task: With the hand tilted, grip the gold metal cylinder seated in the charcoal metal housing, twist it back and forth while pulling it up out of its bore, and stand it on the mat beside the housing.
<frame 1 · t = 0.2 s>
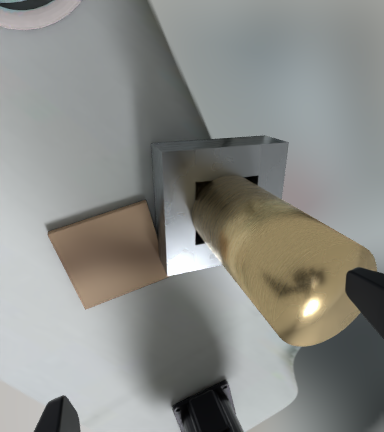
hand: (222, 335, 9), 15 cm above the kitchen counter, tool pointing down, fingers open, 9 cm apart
housing: (210, 196, 24), on the kitchen counter
gold metal cylinder: (251, 232, 18), in the housing
mat: (114, 254, 23), on the kitchen counter
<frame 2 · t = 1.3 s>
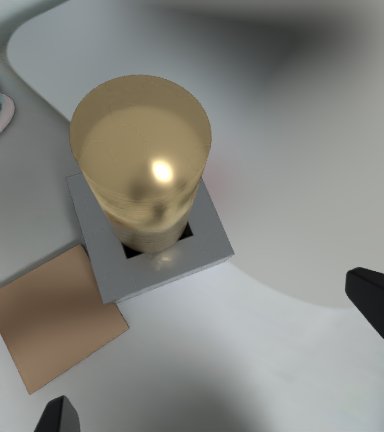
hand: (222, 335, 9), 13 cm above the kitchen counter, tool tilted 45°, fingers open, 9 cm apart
housing: (150, 227, 23), on the kitchen counter
gold metal cylinder: (147, 195, 17), in the housing
mat: (59, 313, 21), on the kitchen counter
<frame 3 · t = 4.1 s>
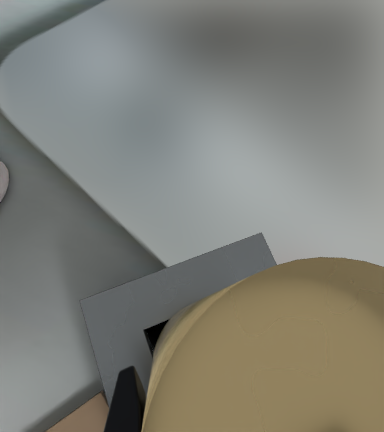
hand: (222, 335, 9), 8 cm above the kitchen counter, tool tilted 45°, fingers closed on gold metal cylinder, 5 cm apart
housing: (204, 355, 16), on the kitchen counter
gold metal cylinder: (233, 378, 9), in the housing, touching gripper
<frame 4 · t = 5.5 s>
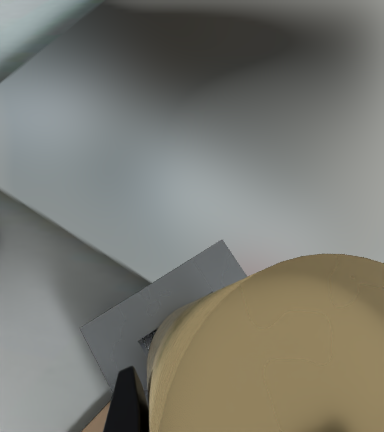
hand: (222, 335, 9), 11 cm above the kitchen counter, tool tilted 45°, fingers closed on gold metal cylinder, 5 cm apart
housing: (193, 349, 18), on the kitchen counter
gold metal cylinder: (229, 377, 10), point 9 cm above the kitchen counter, touching gripper
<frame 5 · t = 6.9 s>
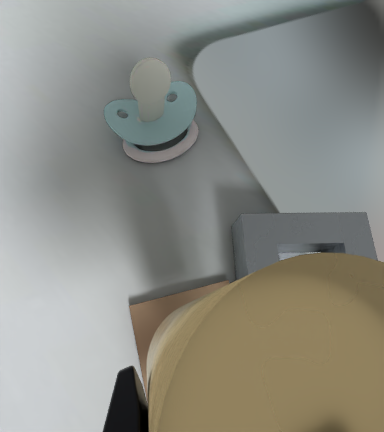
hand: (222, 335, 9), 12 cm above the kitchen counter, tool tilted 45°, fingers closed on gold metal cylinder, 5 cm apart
housing: (296, 284, 22), on the kitchen counter
gold metal cylinder: (229, 376, 10), point 11 cm above the kitchen counter, touching gripper
pacifier: (156, 133, 25), on the kitchen counter
mat: (192, 345, 20), on the kitchen counter
when the fingers open (8 cm above the kitchen counter, at t = 8.1 s): gold metal cylinder stays where it is, resting on mat.
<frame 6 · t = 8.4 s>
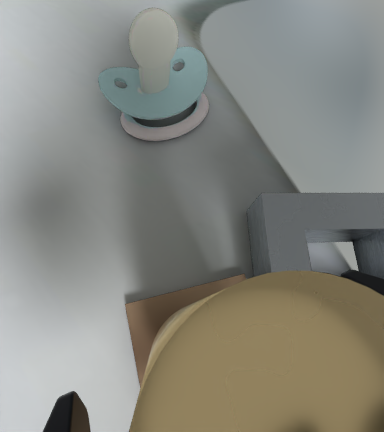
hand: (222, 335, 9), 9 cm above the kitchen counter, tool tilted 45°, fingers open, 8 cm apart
housing: (324, 279, 19), on the kitchen counter
gold metal cylinder: (224, 377, 10), on the mat
pacifier: (160, 108, 22), on the kitchen counter
mat: (201, 352, 17), on the kitchen counter
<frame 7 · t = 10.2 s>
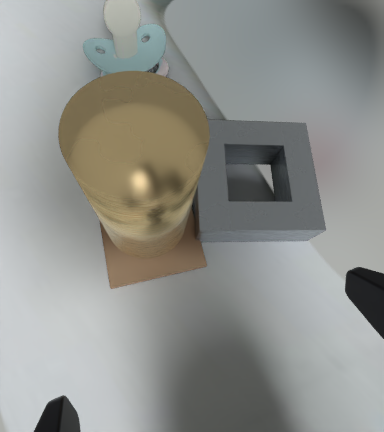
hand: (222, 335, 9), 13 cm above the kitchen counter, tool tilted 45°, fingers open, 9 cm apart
housing: (246, 189, 25), on the kitchen counter
gold metal cylinder: (144, 198, 17), on the mat
pacifier: (132, 71, 29), on the kitchen counter
mat: (150, 232, 23), on the kitchen counter
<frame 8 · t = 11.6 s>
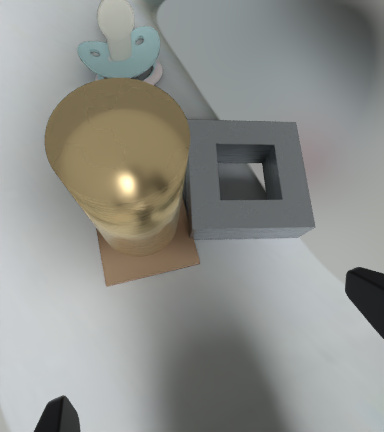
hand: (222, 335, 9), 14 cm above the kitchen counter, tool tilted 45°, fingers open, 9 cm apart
housing: (238, 187, 26), on the kitchen counter
gold metal cylinder: (134, 199, 17), on the mat
pacifier: (126, 74, 29), on the kitchen counter
mat: (144, 231, 24), on the kitchen counter
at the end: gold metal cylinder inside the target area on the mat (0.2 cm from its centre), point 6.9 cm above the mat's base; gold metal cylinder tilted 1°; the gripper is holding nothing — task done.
